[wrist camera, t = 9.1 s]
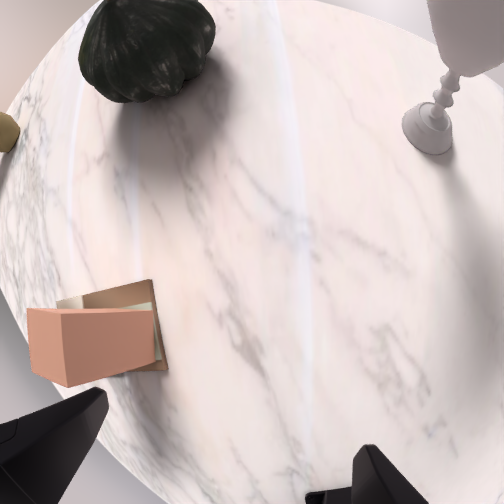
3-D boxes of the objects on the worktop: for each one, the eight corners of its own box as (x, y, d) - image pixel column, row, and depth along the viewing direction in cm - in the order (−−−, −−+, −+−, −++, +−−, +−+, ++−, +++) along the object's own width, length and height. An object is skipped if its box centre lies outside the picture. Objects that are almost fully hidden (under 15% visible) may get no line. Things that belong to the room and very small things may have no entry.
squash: (122, 20, 26) (44, 14, 14) (224, -12, 23) (172, -55, 11) (135, 106, 34) (59, 131, 22) (237, 85, 30) (190, 90, 18)
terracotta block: (155, 361, 22) (67, 387, 13) (117, 355, 23) (32, 372, 14) (153, 310, 23) (60, 313, 13) (114, 308, 24) (26, 308, 14)
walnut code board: (168, 368, 23) (163, 370, 22) (72, 369, 26) (67, 370, 25) (151, 279, 24) (146, 279, 23) (61, 301, 27) (56, 301, 26)
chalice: (424, 178, 19) (527, 1, 2) (375, 117, 21) (392, -75, 4) (474, 144, 18) (563, 6, 1) (428, 90, 20) (467, -63, 3)
